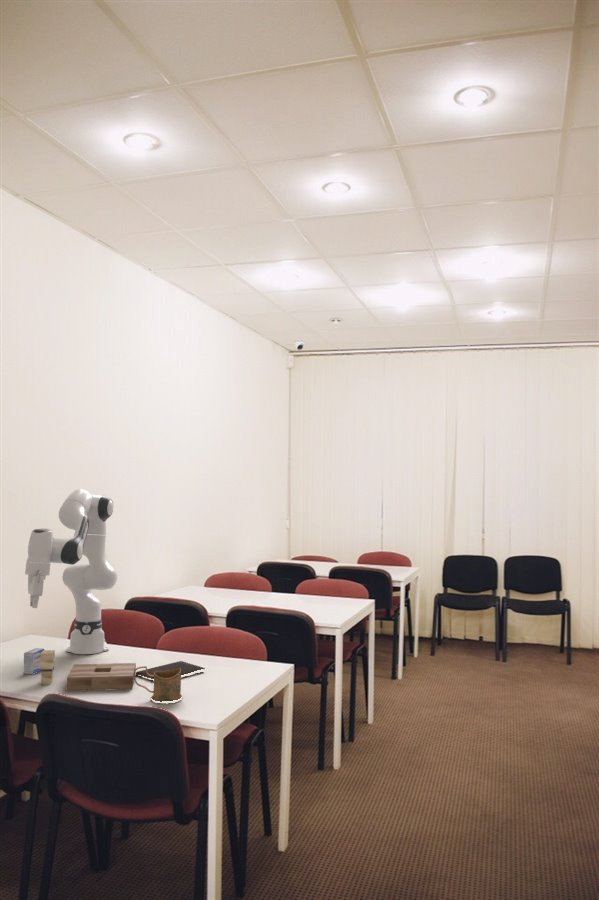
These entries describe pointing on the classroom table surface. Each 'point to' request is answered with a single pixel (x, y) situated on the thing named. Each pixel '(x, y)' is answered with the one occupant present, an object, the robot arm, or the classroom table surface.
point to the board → (101, 676)
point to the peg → (47, 666)
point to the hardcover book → (171, 668)
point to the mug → (165, 684)
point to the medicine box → (32, 661)
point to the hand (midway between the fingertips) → (33, 607)
